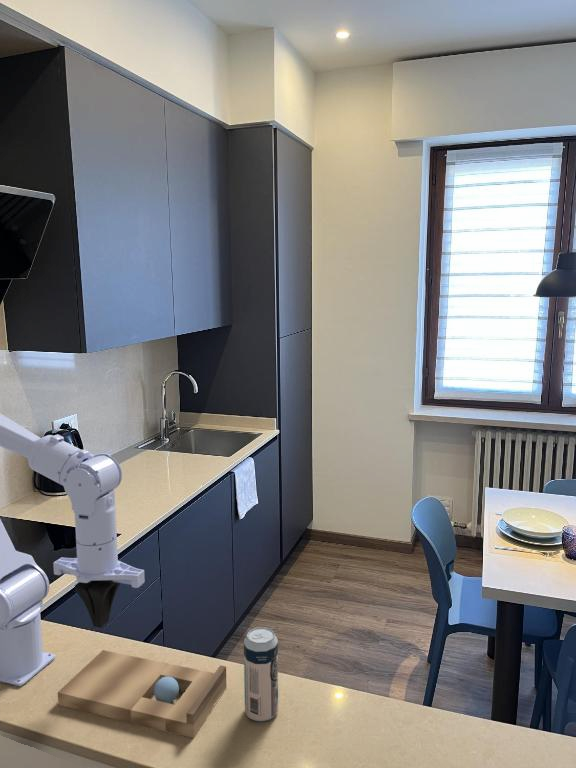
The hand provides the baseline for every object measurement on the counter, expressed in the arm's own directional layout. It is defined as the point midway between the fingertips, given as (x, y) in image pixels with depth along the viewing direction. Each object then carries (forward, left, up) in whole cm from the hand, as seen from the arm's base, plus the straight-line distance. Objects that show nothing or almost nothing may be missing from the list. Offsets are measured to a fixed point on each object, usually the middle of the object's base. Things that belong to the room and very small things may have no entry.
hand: (101, 623), depth 88 cm
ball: (+11, 0, -9) cm, 14 cm away
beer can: (+25, +2, -11) cm, 27 cm away
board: (+7, 0, -10) cm, 13 cm away
